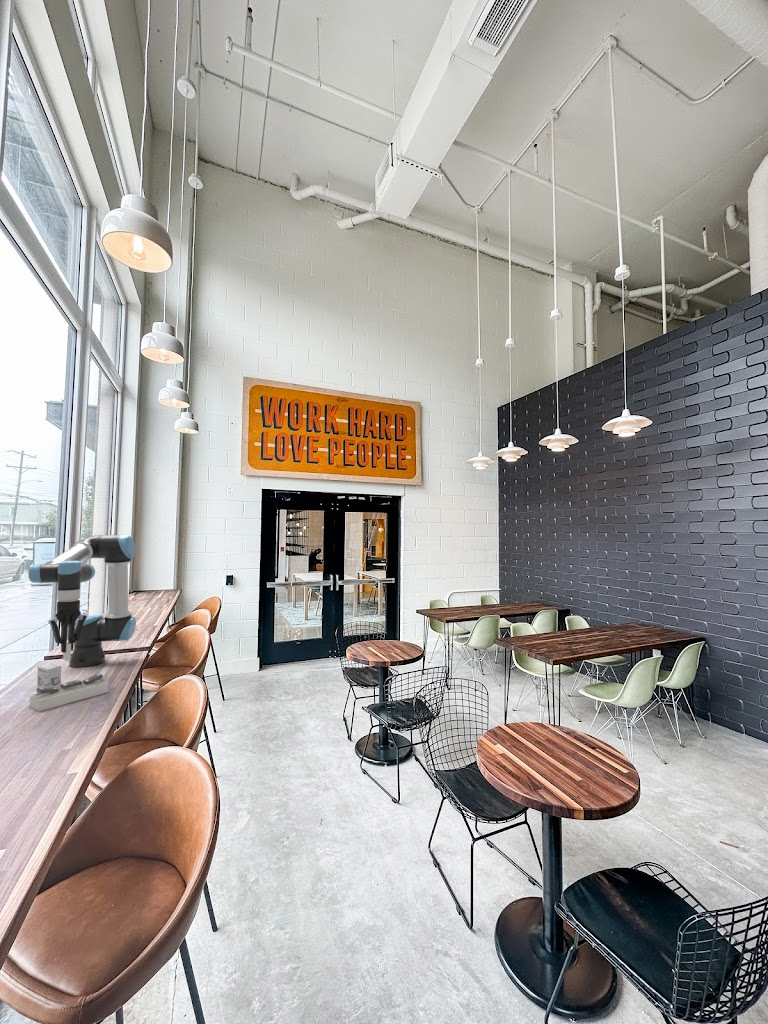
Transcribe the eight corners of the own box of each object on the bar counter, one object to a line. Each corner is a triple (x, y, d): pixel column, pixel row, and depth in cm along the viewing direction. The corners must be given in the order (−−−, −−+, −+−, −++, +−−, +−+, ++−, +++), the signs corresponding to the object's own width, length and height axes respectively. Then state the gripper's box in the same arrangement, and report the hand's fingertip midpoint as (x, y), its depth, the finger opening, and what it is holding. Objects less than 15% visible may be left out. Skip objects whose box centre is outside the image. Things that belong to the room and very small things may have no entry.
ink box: (35, 695, 179) (37, 665, 180) (49, 691, 184) (51, 662, 184) (47, 699, 175) (48, 668, 176) (61, 695, 180) (62, 665, 180)
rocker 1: (53, 690, 173) (54, 687, 173) (57, 692, 171) (59, 688, 171) (36, 691, 168) (37, 687, 168) (40, 693, 166) (41, 689, 166)
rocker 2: (77, 682, 179) (77, 679, 179) (81, 684, 177) (81, 681, 178) (60, 687, 174) (60, 684, 174) (64, 689, 172) (64, 685, 172)
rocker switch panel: (98, 688, 188) (98, 677, 188) (108, 692, 184) (108, 680, 184) (29, 706, 168) (30, 694, 168) (38, 711, 163) (39, 698, 164)
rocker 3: (98, 675, 186) (98, 672, 186) (103, 677, 184) (102, 674, 184) (83, 683, 181) (82, 680, 181) (87, 684, 179) (86, 681, 179)
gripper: (82, 597, 185) (80, 654, 184) (45, 601, 174) (43, 662, 173) (91, 598, 181) (89, 657, 180) (53, 603, 170) (51, 665, 169)
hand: (66, 659), depth 177 cm, fingers closed
